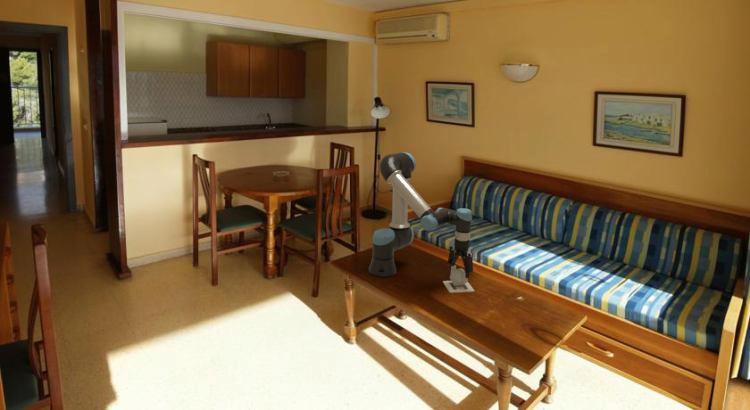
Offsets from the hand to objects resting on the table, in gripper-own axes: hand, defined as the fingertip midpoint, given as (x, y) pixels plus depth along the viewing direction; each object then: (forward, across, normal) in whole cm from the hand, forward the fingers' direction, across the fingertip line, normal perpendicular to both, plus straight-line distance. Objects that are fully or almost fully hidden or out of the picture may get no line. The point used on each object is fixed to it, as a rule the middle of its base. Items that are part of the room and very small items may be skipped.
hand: (458, 280), depth 253 cm
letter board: (+4, 0, 0) cm, 4 cm away
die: (+2, 0, 0) cm, 2 cm away
